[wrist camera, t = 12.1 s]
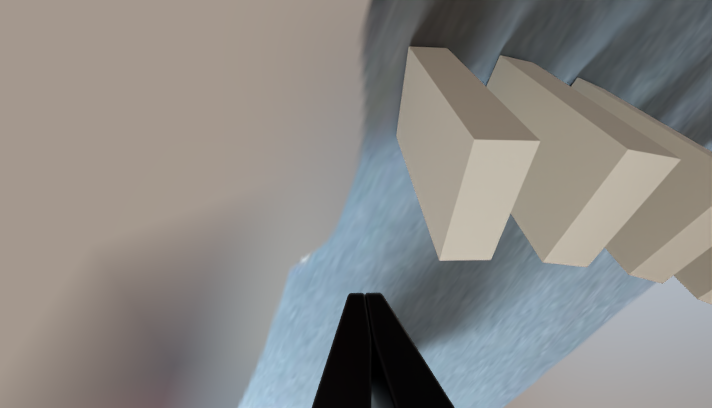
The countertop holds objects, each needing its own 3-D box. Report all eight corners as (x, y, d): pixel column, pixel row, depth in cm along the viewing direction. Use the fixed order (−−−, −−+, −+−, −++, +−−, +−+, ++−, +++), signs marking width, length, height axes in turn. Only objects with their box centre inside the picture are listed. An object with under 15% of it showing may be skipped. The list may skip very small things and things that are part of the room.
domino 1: (447, 48, 18) (540, 140, 10) (429, 136, 21) (491, 260, 14) (408, 46, 18) (474, 139, 10) (396, 135, 21) (439, 260, 13)
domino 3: (604, 89, 20) (782, 193, 12) (546, 161, 23) (662, 283, 15) (577, 77, 20) (745, 177, 12) (521, 152, 23) (628, 274, 15)
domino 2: (533, 62, 19) (681, 159, 11) (492, 144, 22) (586, 266, 14) (500, 55, 19) (628, 149, 11) (462, 139, 22) (542, 262, 14)
